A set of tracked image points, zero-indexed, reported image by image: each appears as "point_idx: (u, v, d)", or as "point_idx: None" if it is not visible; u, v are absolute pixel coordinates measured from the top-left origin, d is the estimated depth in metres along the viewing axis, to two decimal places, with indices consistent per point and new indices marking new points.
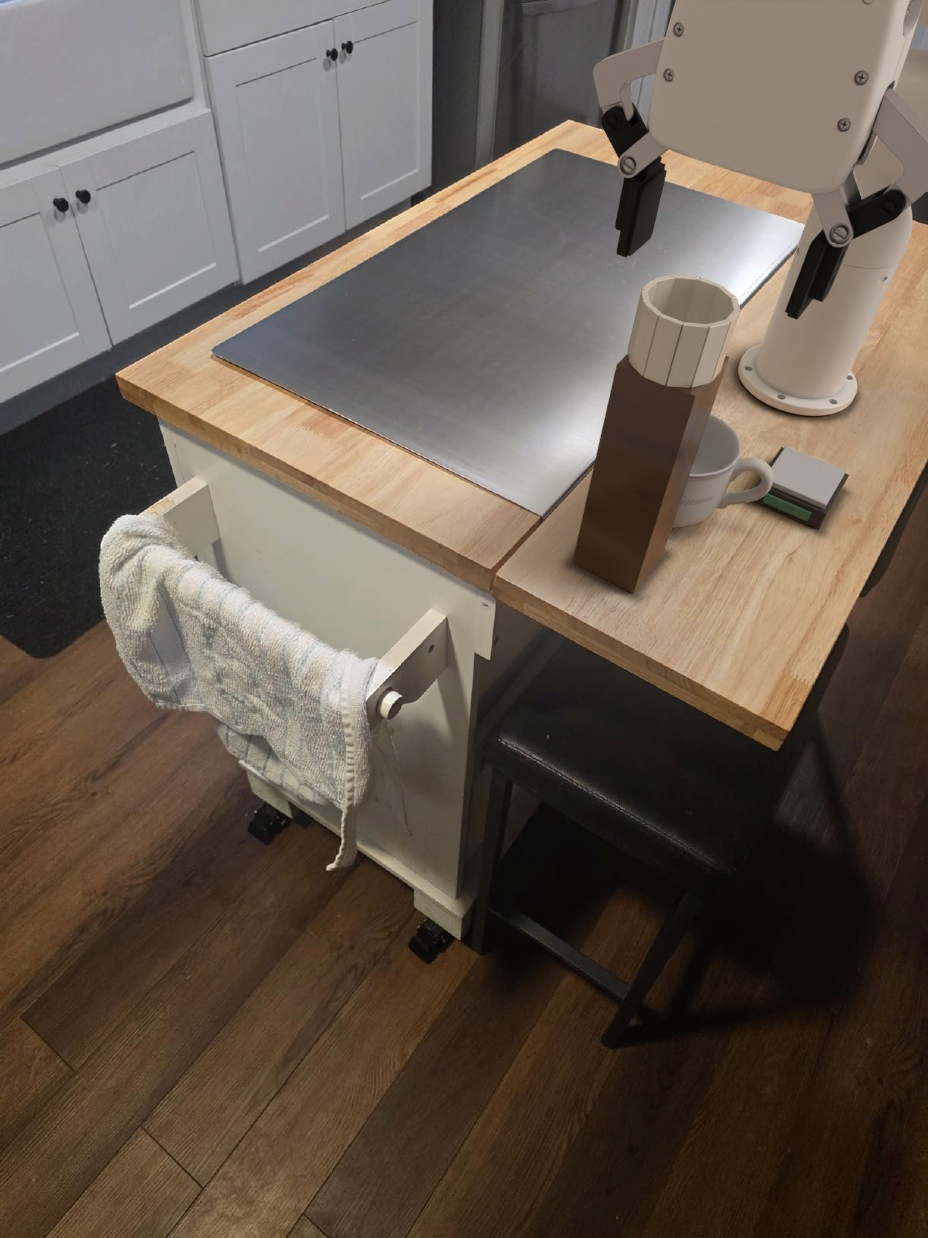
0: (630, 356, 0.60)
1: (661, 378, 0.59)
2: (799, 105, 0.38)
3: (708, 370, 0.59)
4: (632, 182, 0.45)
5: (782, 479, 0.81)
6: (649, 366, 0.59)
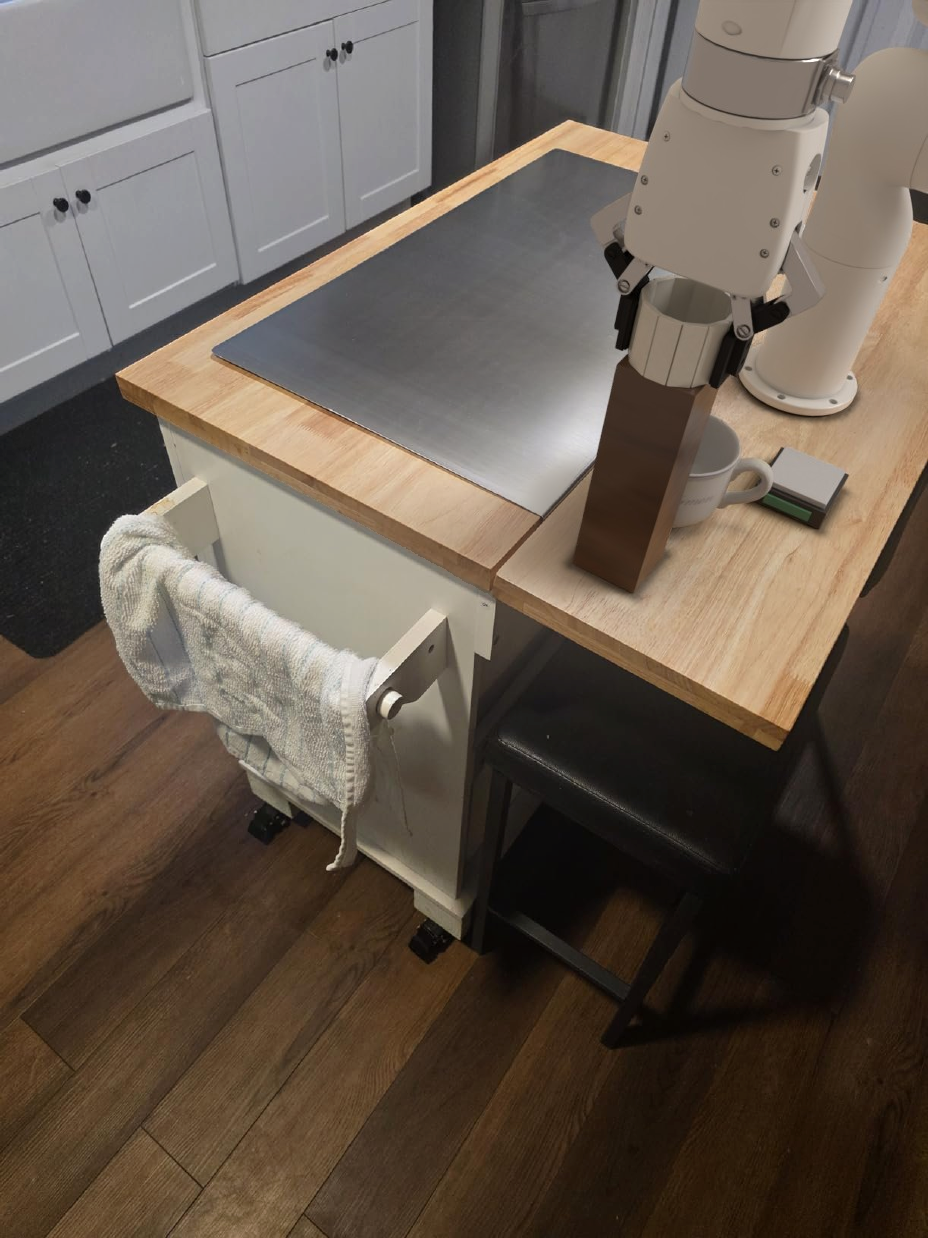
0: (630, 356, 0.60)
1: (661, 378, 0.59)
2: (732, 238, 0.51)
3: (708, 370, 0.59)
4: (627, 298, 0.58)
5: (782, 479, 0.81)
6: (649, 366, 0.59)
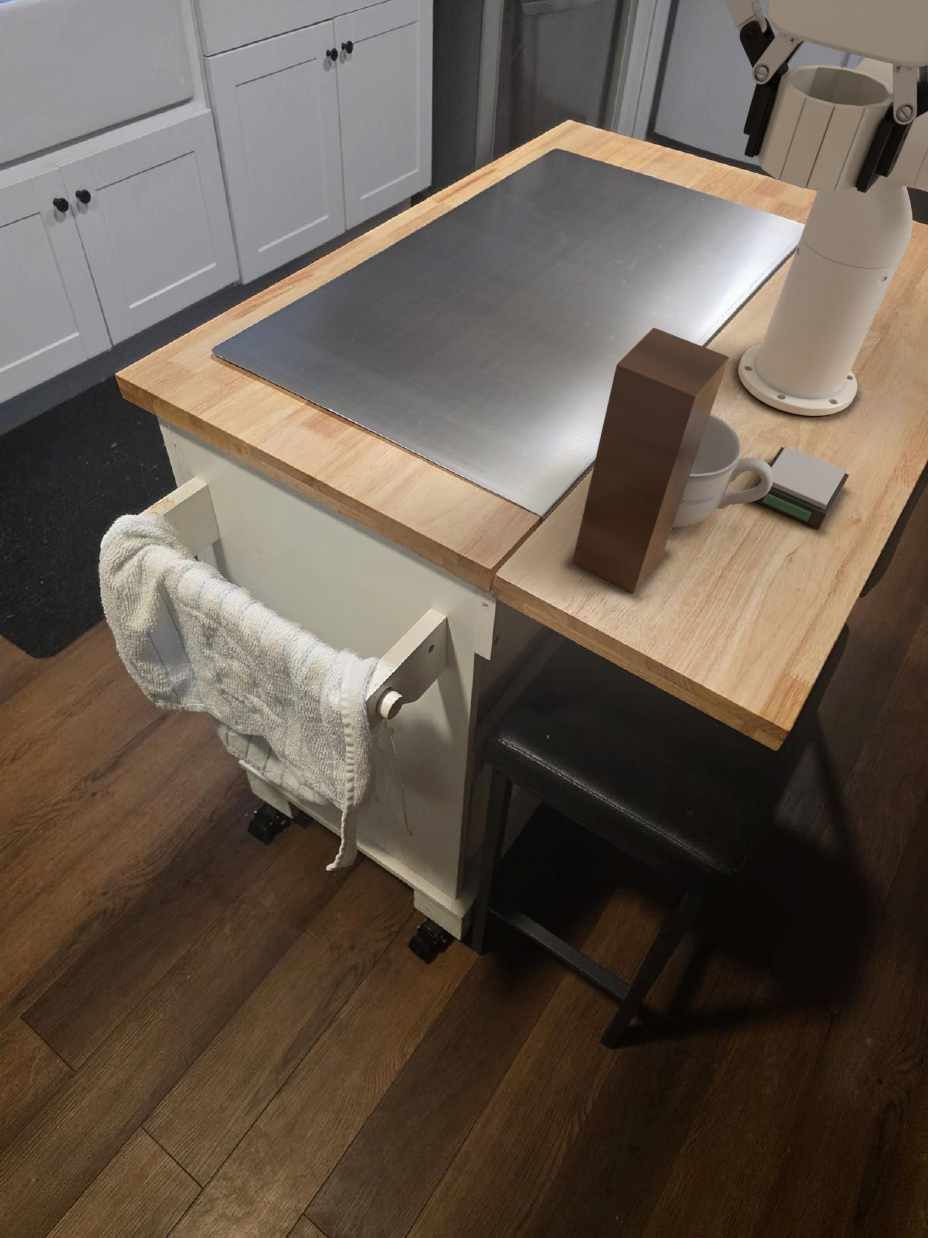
0: (763, 159, 0.54)
1: (801, 179, 0.52)
2: None
3: (855, 169, 0.52)
4: (764, 87, 0.52)
5: (782, 479, 0.81)
6: (788, 166, 0.52)
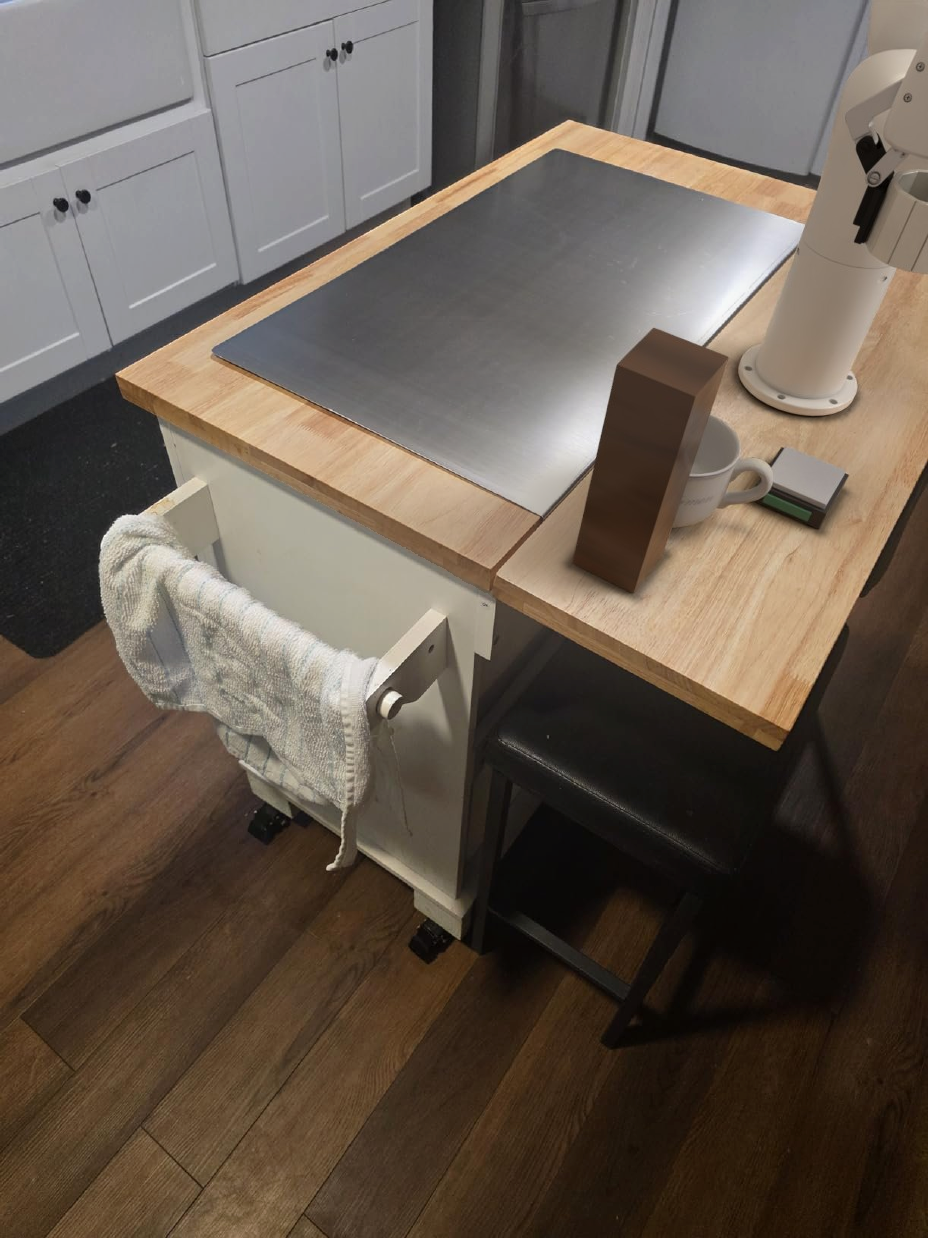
0: (872, 247, 0.64)
1: (907, 265, 0.63)
2: None
3: None
4: (876, 190, 0.62)
5: (782, 479, 0.81)
6: (896, 253, 0.62)
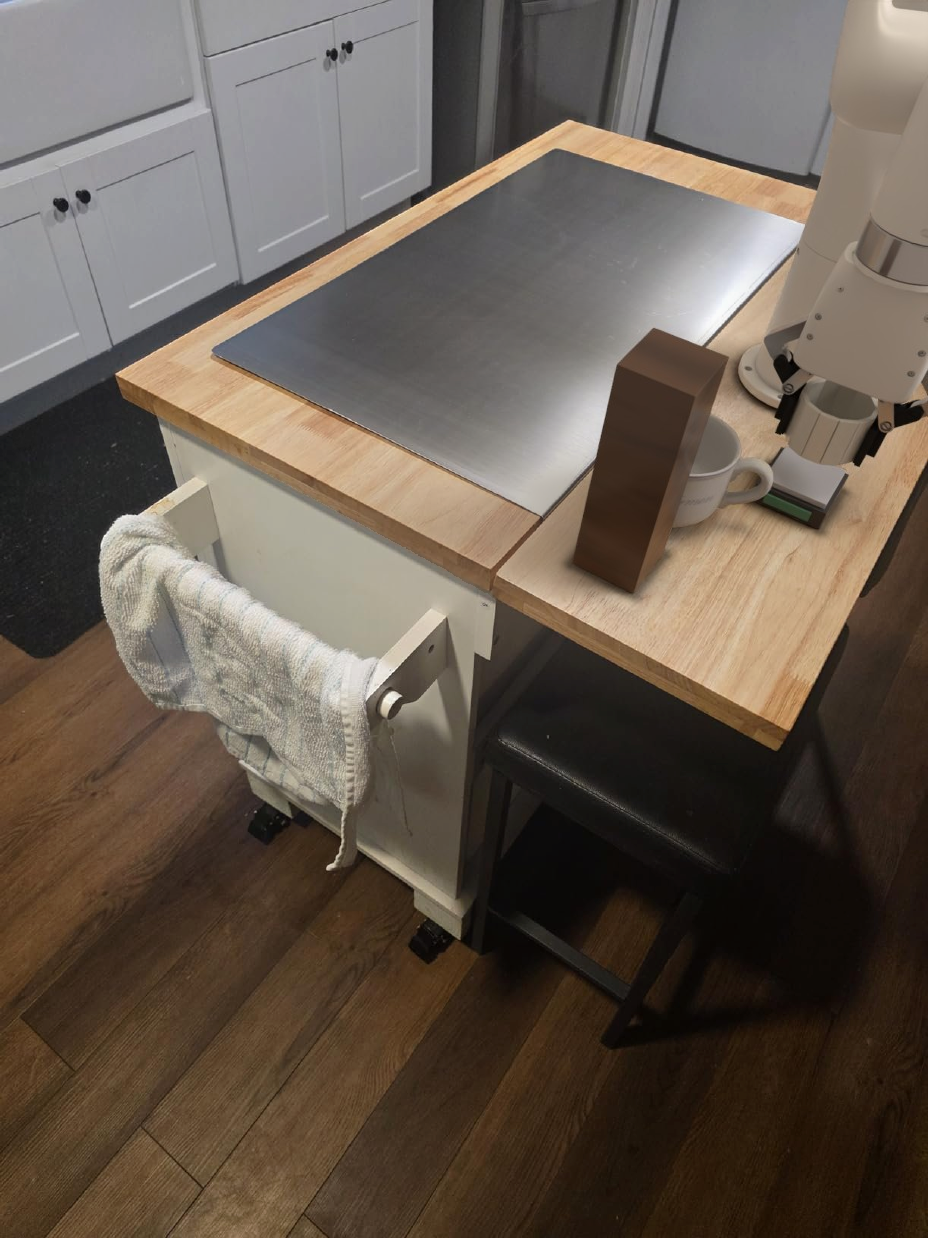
0: (789, 440, 0.77)
1: (816, 458, 0.76)
2: (886, 362, 0.68)
3: (853, 453, 0.76)
4: (790, 397, 0.76)
5: (782, 479, 0.81)
6: (807, 449, 0.76)
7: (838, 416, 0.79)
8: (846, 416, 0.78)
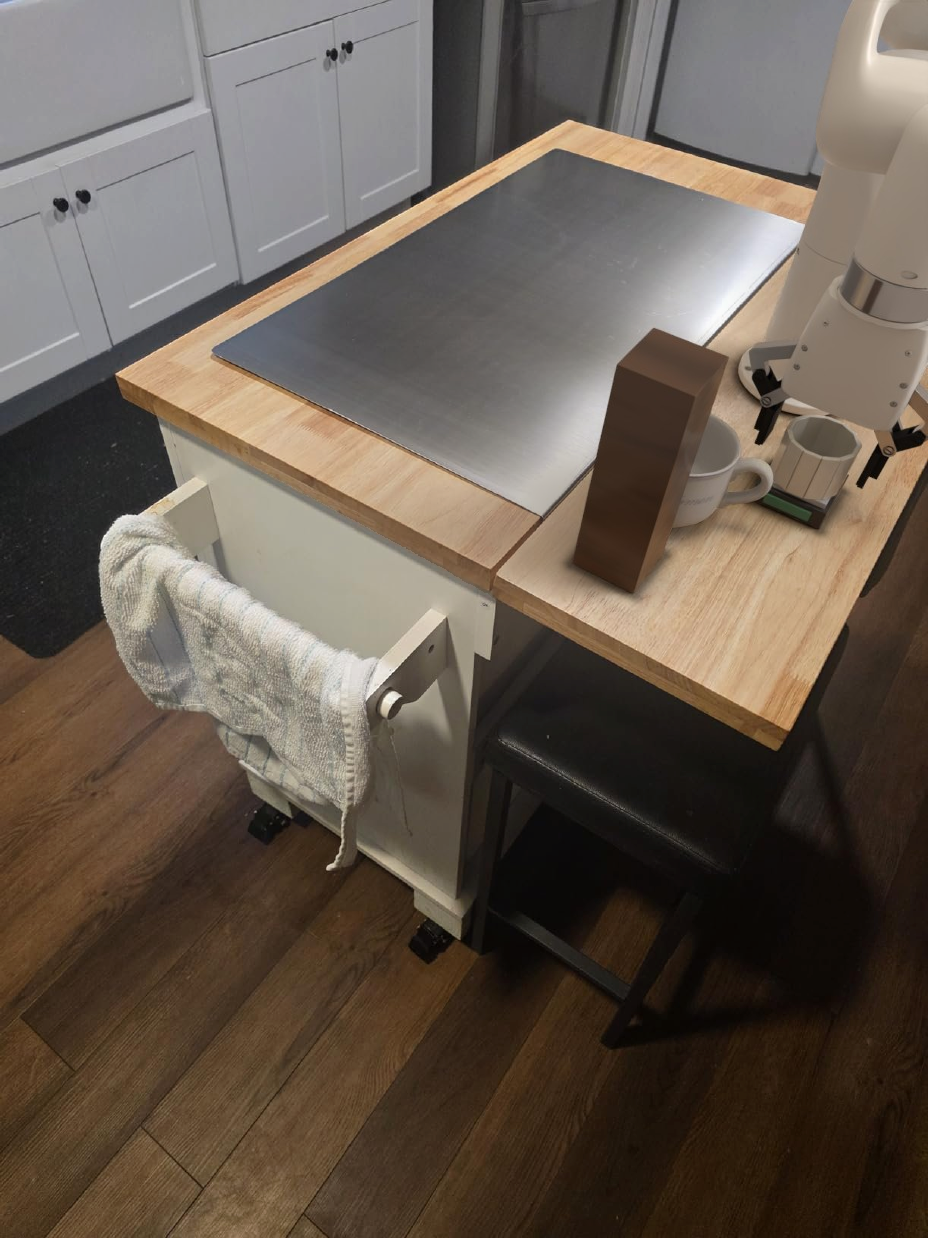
0: (774, 474, 0.80)
1: (800, 493, 0.79)
2: (870, 392, 0.71)
3: (835, 487, 0.79)
4: (768, 410, 0.78)
5: None
6: (791, 484, 0.79)
7: (822, 450, 0.82)
8: (830, 451, 0.81)
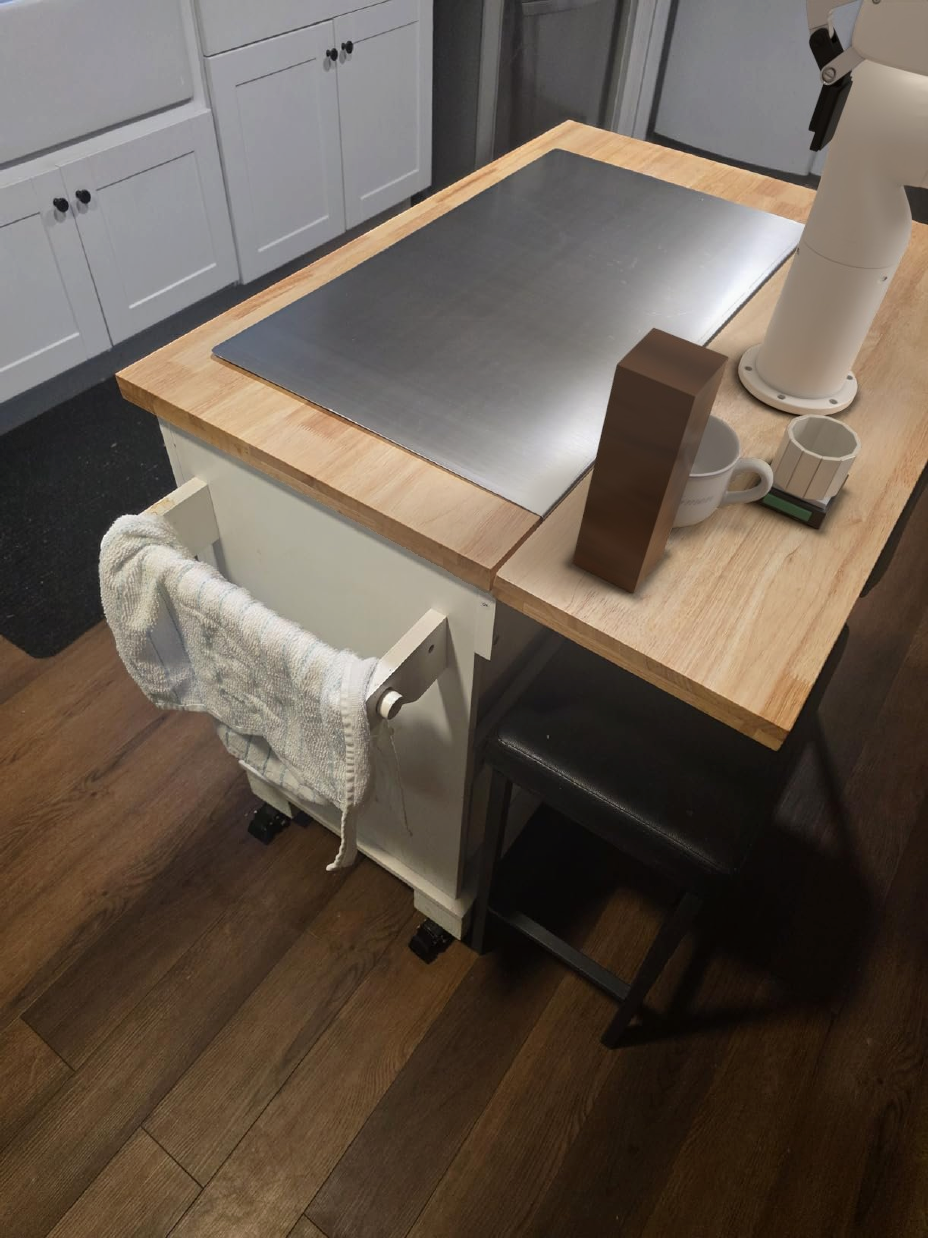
0: (774, 474, 0.80)
1: (800, 493, 0.79)
2: None
3: (835, 487, 0.79)
4: (831, 88, 0.57)
5: None
6: (791, 484, 0.79)
7: (822, 450, 0.82)
8: (830, 451, 0.81)
